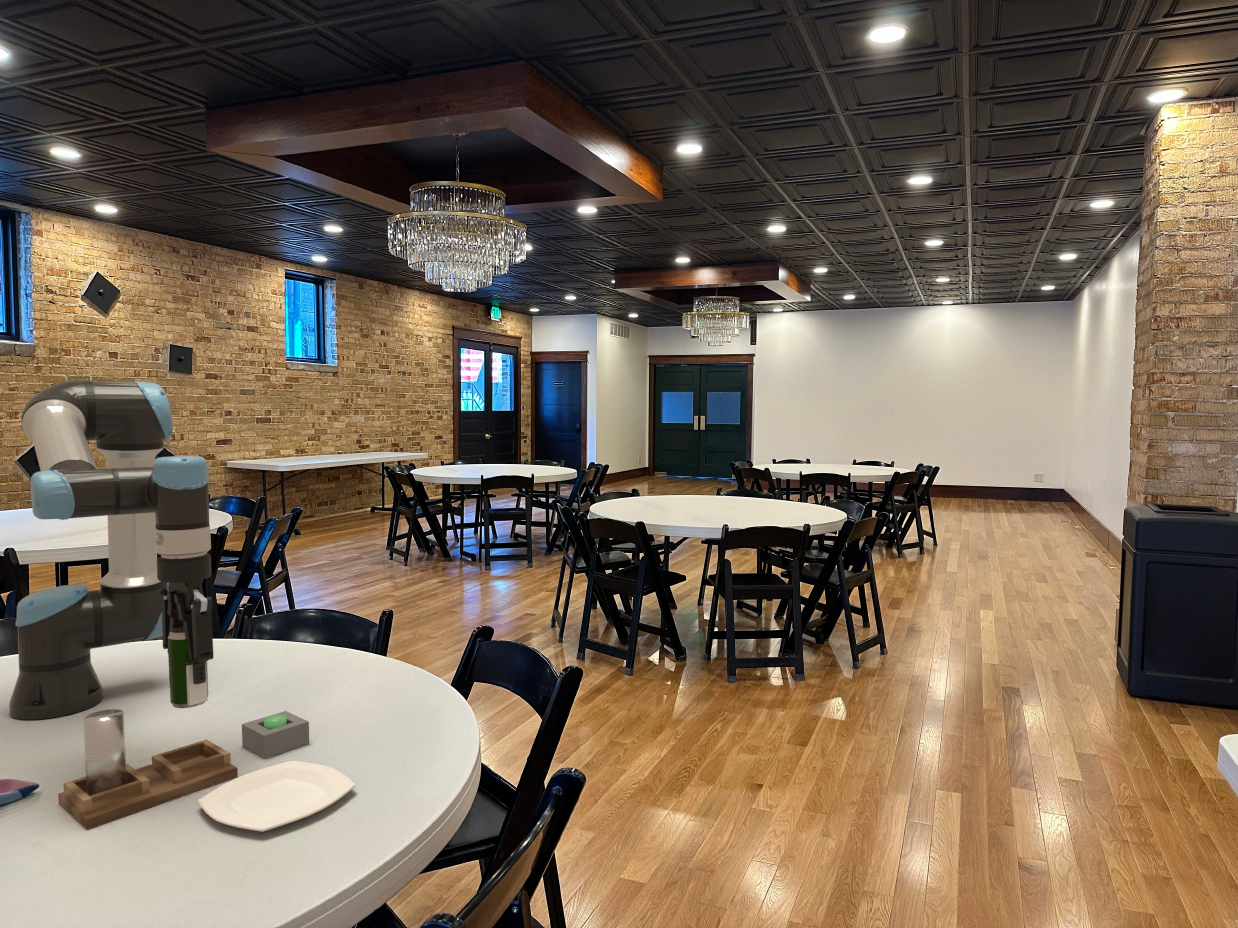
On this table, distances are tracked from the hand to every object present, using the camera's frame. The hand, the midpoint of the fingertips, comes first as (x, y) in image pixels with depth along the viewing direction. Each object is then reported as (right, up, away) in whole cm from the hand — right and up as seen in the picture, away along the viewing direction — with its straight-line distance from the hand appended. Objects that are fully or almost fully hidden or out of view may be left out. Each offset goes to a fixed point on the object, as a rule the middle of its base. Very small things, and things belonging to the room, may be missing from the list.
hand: (189, 698), depth 127 cm
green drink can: (0, -1, 0) cm, 1 cm away
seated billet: (-8, -12, -9) cm, 16 cm away
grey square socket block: (+8, -12, +13) cm, 19 cm away
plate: (+18, -14, -8) cm, 24 cm away
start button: (+8, -10, +13) cm, 18 cm away
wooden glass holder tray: (-4, -13, -4) cm, 14 cm away
